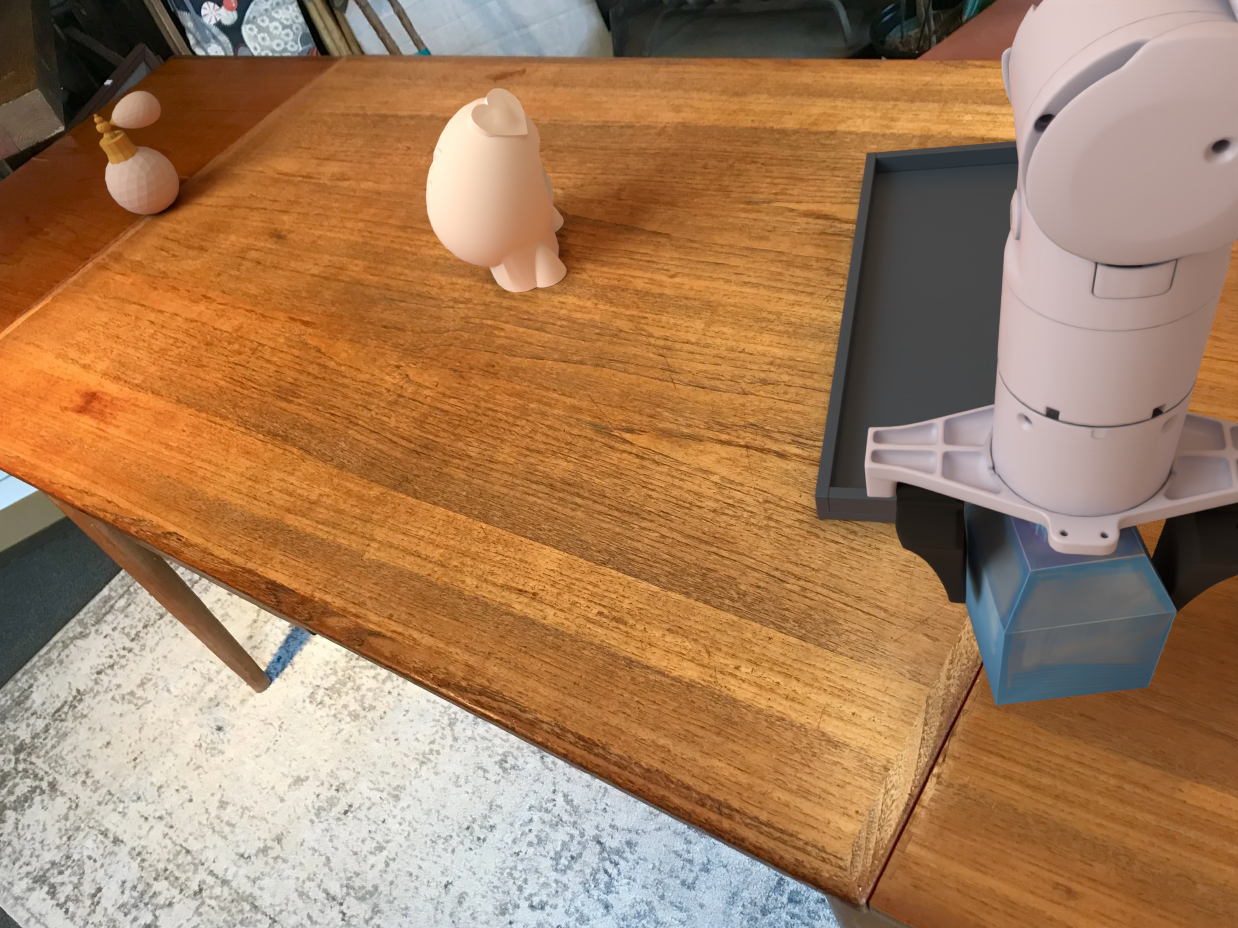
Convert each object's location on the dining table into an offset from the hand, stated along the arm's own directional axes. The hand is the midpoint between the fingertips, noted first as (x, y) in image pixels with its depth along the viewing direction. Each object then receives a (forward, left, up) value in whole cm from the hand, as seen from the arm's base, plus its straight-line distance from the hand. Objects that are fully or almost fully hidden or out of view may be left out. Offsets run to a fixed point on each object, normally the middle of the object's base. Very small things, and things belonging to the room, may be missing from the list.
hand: (1054, 590), depth 40 cm
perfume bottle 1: (+92, -51, -10) cm, 106 cm away
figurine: (+42, -37, -10) cm, 57 cm away
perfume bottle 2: (0, 0, -4) cm, 4 cm away
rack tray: (+4, -28, -10) cm, 30 cm away
